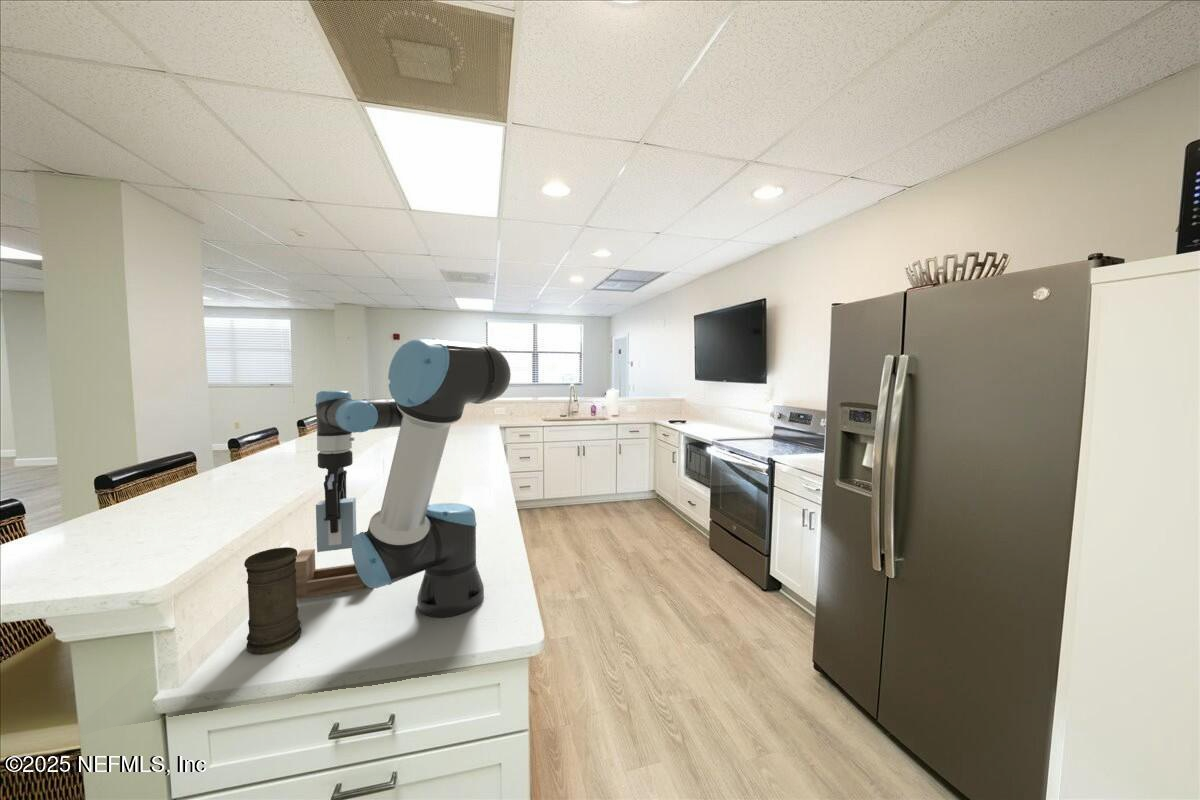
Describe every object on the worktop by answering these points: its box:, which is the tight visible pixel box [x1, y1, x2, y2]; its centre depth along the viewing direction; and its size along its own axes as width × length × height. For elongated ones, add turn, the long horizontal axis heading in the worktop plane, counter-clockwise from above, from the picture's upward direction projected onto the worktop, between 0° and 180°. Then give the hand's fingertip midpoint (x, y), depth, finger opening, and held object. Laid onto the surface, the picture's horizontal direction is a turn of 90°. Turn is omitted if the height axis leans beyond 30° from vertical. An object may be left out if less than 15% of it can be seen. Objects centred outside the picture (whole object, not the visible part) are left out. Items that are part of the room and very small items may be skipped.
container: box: [243, 546, 303, 656], centre depth 84 cm, size 9×9×18 cm
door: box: [315, 497, 357, 553], centre depth 107 cm, size 4×8×12 cm, turn 111°
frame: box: [295, 548, 369, 599], centre depth 108 cm, size 8×18×9 cm, turn 111°
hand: (337, 540), depth 107 cm, fingers closed on door, 4 cm apart
